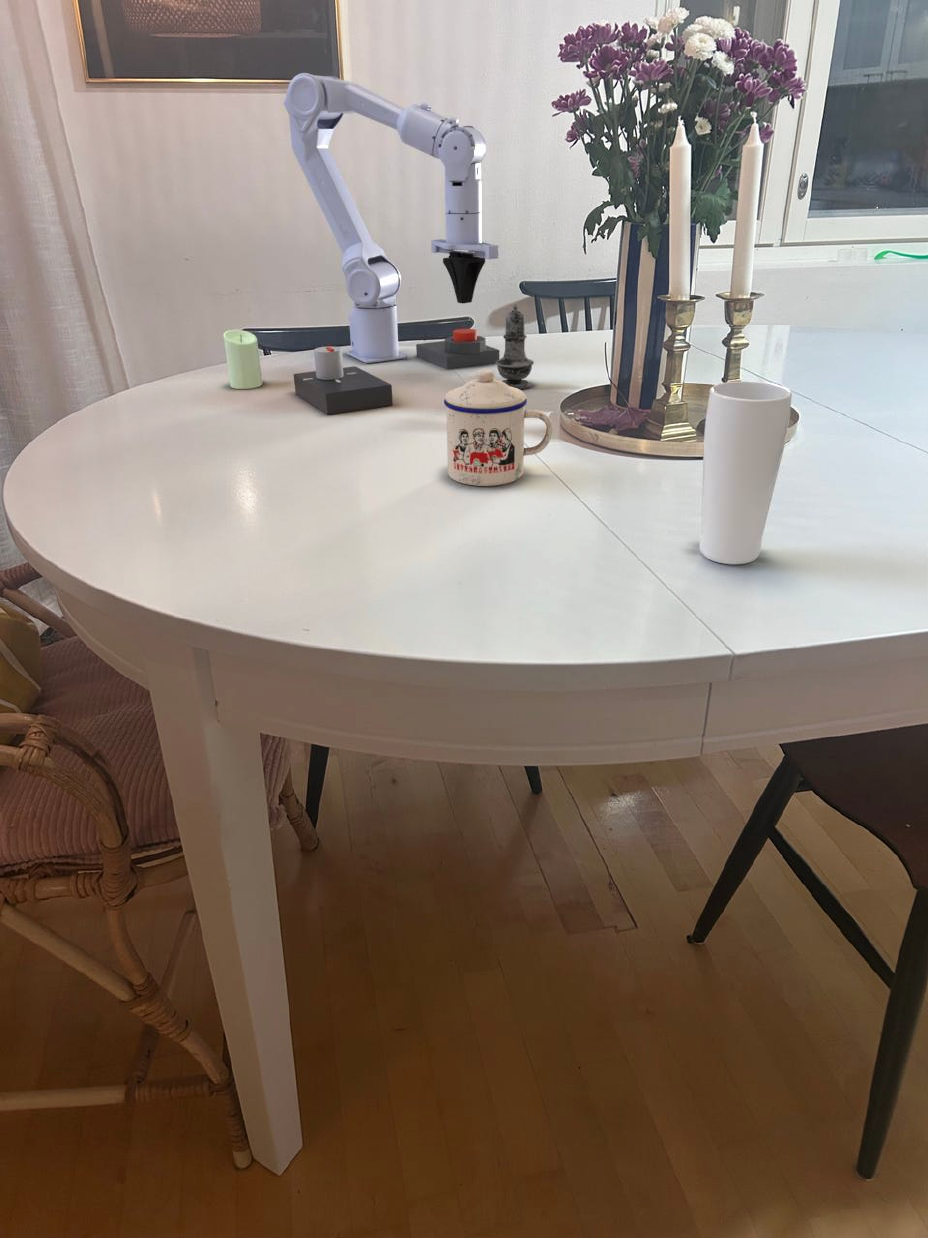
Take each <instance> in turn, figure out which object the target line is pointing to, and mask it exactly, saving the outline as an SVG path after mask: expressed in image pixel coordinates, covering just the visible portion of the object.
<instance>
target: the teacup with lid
mask: <svg viewBox="0 0 928 1238" xmlns="http://www.w3.org/2000/svg"><path fill="white" fill-rule="evenodd" d="M495 375H496V374H495V372H494V371H493V370H492V369H480V370H478V371H477V372H476V373H475V379H472V380H468V381H467V382H466V383H464V384H463V385H462V386H459V387H455V388H453V389H450V390H449V391H448V392H447V393H446V394H445V396H444V399H443V404H444V406H445V407H446V409H445V411H446V412H445V413H446V414H445V415H446V453H447V454H446V455H447V456H446V457H447V474H448V476H449V477H450V478H451V479H452V480H454V482H455V481H456V482H457V483H460V484H464V485H469V486H475V487H476V486H477V487H494V486H502V485H506V484H511V483H512V482H515V481H517V480H519V479H521V477H522V476H523V474H524V462H525V461H524V459H525V458H524V457H525V456H532V455H537V454H539V453H541V452H542V451H544V450H545V449H546V448H547V446H548V445H549V443H550V442H551V439H552V436H553V429H554V428H553V427H554V426H553V422H552V420H551V418H550V417H549V416H548V415H547V414H546V413H545V412H543V411H541V410H535V409H529V410H528V409H526V410H525V406H526V405H527V403H528V400H527V396H526V393H524V391H523V390H522V389H521V390H519V389H517V388H514V387H511V386H508V385H507V384H505V383H504V382H502V381H503V380H500V379H496V378H495ZM531 418H532V419H539V420H541V421H542V422H543V423H544V424H545V426H546V431H545V434H544V435H543V438H542V440H541V441H540V442H539V443H538V444H536V445H534V446H530V447H525V419H531Z"/></svg>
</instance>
